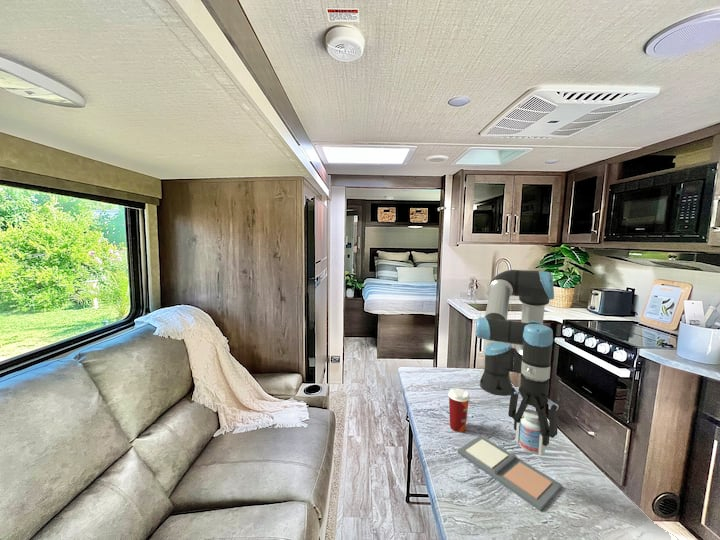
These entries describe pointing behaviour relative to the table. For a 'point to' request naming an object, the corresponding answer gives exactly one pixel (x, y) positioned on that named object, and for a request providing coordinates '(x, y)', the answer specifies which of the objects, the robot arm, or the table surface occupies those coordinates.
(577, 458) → the table surface
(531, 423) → the pill bottle
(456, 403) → the coffee cup
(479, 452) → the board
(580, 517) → the table surface
